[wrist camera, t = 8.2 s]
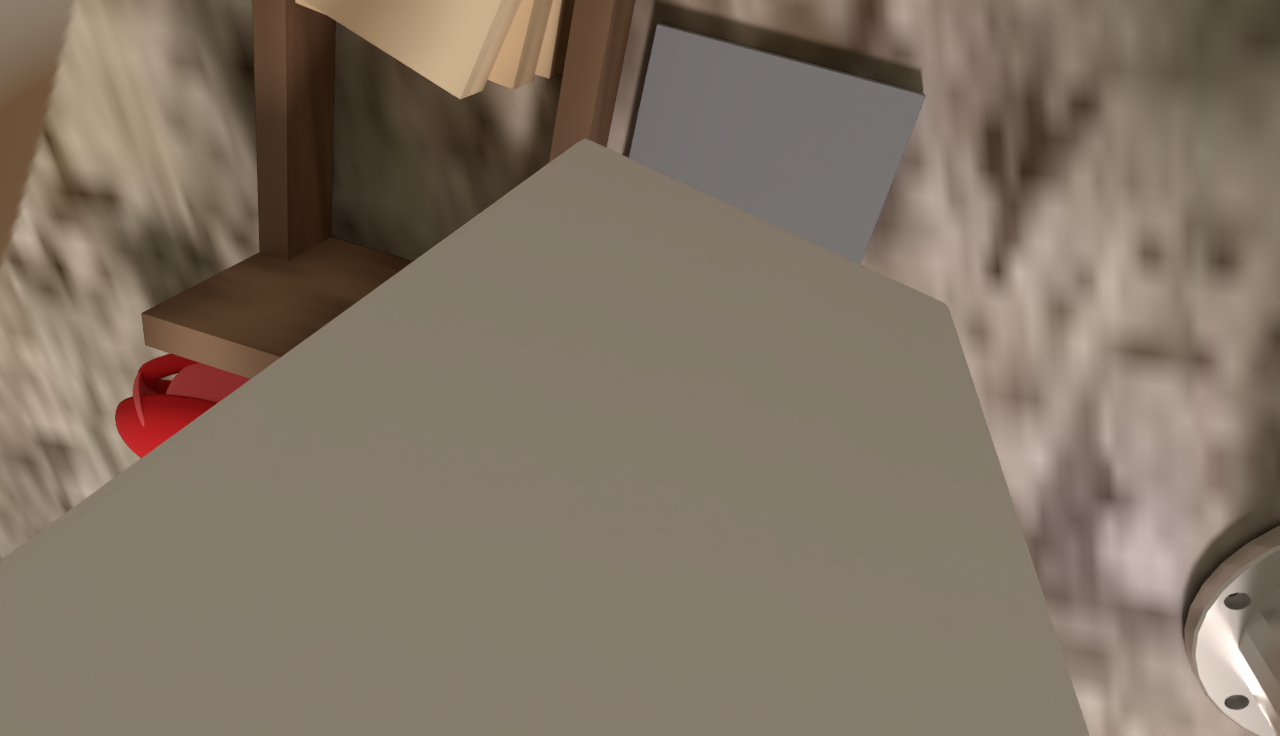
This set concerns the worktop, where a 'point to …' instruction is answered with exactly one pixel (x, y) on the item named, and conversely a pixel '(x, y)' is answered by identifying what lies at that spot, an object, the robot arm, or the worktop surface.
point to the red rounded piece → (170, 400)
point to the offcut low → (555, 39)
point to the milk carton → (563, 508)
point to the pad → (774, 135)
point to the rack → (302, 190)
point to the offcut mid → (515, 44)
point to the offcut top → (432, 35)
